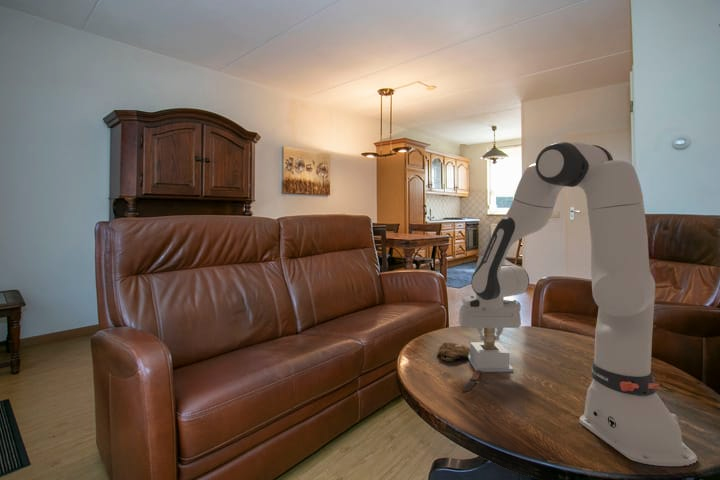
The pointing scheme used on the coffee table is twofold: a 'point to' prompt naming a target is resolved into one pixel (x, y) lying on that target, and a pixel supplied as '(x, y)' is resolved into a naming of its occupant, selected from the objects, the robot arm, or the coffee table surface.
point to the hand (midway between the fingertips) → (489, 340)
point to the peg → (489, 339)
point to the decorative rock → (452, 351)
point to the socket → (489, 358)
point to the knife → (472, 381)
